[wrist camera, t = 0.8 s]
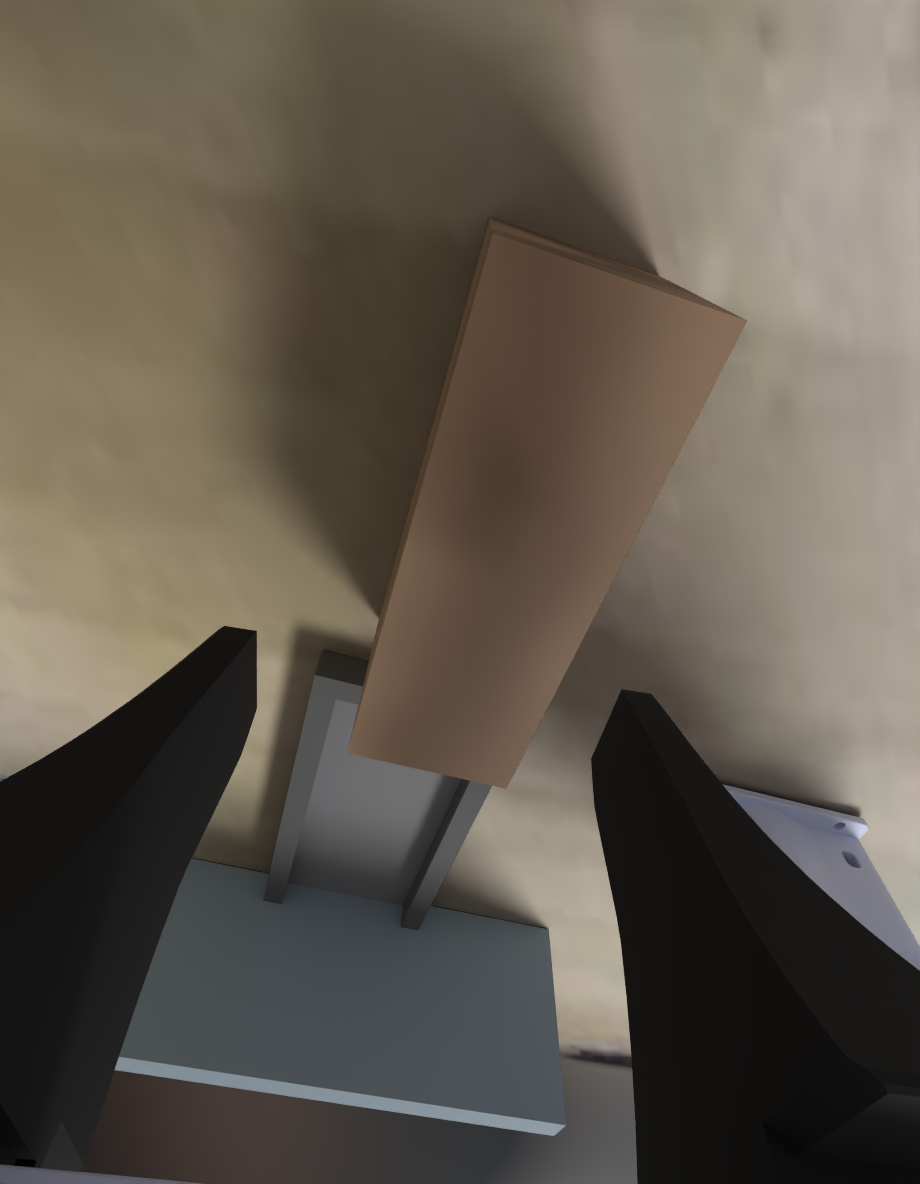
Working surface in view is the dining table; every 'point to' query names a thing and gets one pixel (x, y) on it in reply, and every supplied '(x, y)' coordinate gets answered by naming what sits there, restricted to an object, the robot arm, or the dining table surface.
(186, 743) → the robot arm
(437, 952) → the wall board
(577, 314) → the brown wooden block
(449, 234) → the dining table surface
